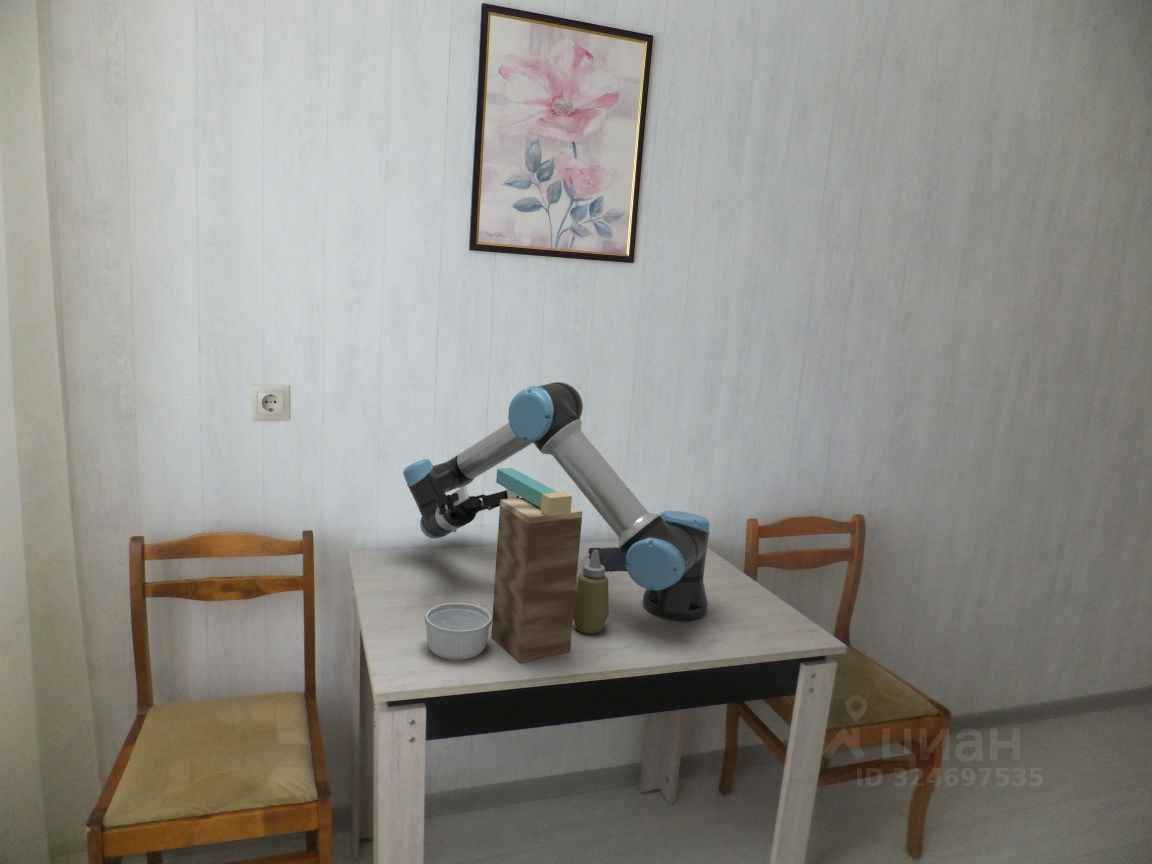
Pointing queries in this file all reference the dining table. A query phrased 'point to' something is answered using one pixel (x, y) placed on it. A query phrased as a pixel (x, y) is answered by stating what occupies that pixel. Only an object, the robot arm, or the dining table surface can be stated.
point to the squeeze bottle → (591, 597)
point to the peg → (535, 492)
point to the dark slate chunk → (611, 558)
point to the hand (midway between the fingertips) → (494, 489)
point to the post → (535, 580)
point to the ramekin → (457, 630)
